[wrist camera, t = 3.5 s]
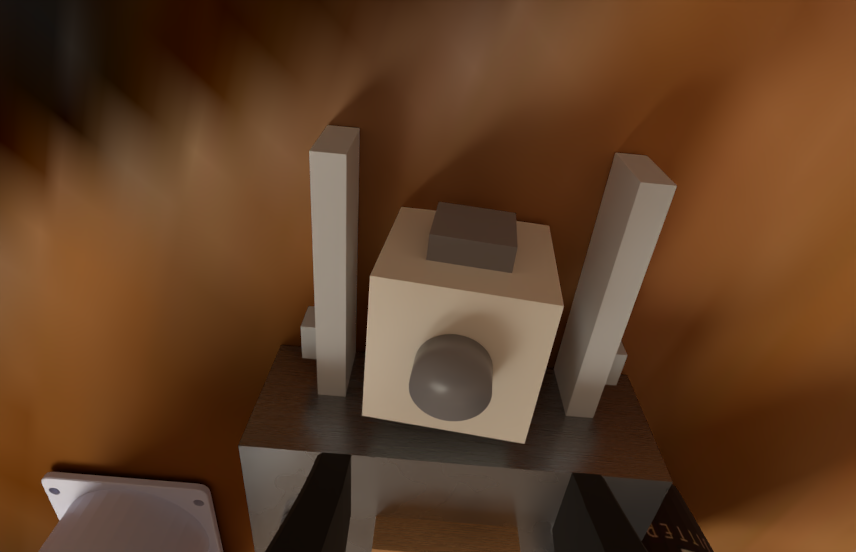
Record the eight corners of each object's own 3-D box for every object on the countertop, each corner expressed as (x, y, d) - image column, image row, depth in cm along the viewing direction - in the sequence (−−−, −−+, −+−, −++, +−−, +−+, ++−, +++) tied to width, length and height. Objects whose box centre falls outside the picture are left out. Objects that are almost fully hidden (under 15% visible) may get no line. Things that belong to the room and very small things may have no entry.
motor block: (590, 471, 24) (629, 615, 19) (289, 445, 24) (244, 584, 19) (627, 375, 21) (687, 516, 16) (280, 345, 21) (224, 477, 15)
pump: (520, 343, 20) (525, 470, 15) (392, 322, 20) (353, 440, 15) (554, 203, 17) (576, 300, 12) (404, 181, 17) (362, 267, 12)
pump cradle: (593, 372, 21) (609, 419, 19) (316, 347, 21) (301, 392, 19) (665, 157, 16) (698, 187, 14) (308, 123, 16) (286, 148, 14)
